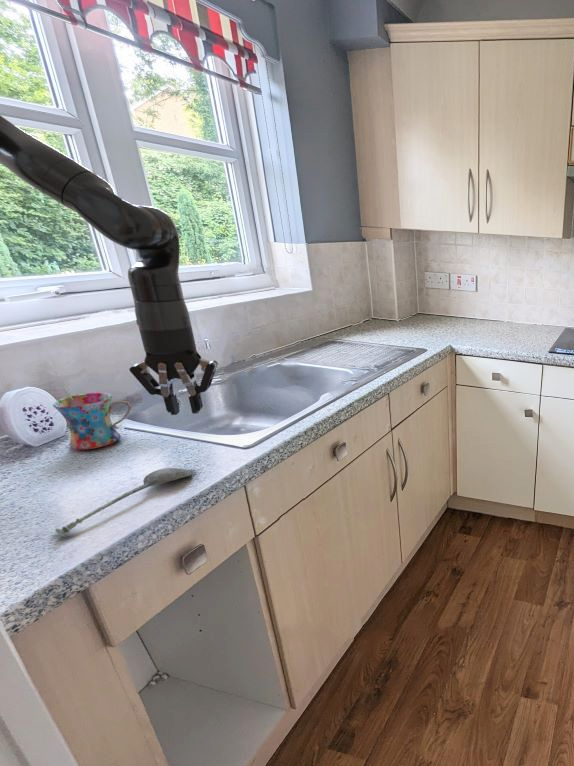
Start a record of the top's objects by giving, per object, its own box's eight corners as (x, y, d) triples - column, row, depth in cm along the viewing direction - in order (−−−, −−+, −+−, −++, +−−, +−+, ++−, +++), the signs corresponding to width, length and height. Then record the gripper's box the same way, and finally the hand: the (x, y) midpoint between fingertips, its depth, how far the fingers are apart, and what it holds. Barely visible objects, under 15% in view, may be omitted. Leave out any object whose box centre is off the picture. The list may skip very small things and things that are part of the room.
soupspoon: (201, 477, 91) (174, 474, 93) (197, 462, 90) (171, 459, 92) (75, 540, 71) (44, 535, 72) (69, 522, 70) (37, 516, 71)
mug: (63, 456, 96) (47, 410, 92) (72, 440, 103) (58, 396, 99) (137, 444, 102) (125, 400, 99) (141, 430, 109) (129, 388, 106)
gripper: (216, 320, 87) (232, 403, 93) (127, 321, 83) (150, 408, 89) (203, 327, 81) (222, 417, 87) (106, 329, 76) (133, 423, 82)
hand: (185, 412), depth 88 cm, fingers open, 3 cm apart
